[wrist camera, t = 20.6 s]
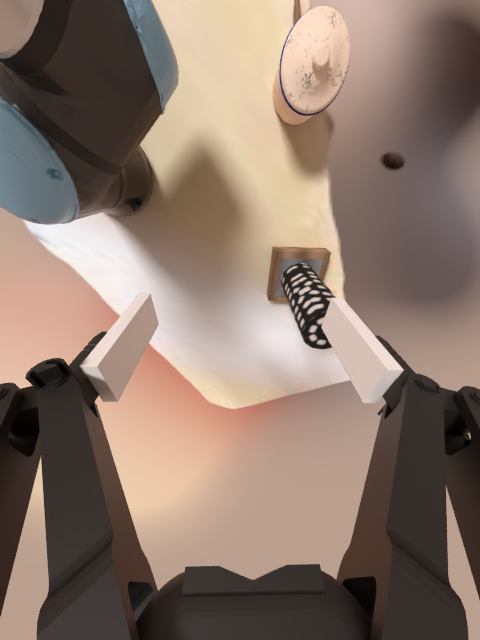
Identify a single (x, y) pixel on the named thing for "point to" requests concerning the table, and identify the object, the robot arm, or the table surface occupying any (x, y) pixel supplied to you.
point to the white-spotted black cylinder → (307, 302)
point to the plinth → (289, 257)
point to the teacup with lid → (311, 63)
